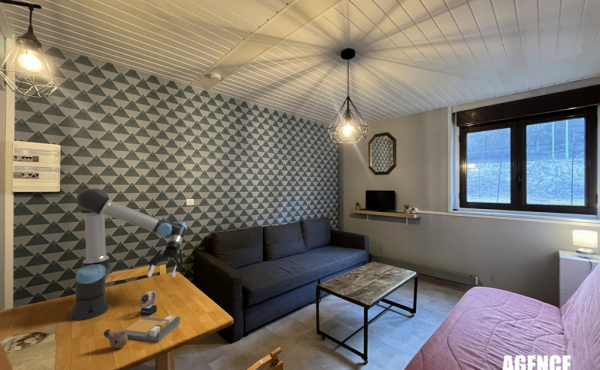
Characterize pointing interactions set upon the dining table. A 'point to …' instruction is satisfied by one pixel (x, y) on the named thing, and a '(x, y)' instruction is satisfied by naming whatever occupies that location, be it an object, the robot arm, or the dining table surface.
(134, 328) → the board
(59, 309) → the dining table surface
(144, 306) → the watch
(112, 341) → the oil lamp
